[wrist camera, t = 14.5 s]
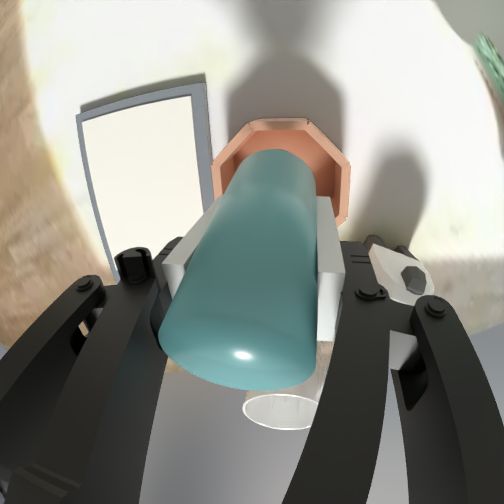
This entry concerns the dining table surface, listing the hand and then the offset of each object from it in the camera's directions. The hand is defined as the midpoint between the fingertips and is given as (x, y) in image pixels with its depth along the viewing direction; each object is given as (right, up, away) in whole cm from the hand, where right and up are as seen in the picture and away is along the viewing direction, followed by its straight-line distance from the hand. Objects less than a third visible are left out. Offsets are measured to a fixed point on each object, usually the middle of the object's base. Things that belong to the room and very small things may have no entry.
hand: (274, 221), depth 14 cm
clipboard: (-11, +4, +11) cm, 16 cm away
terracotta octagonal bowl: (+2, +5, +8) cm, 10 cm away
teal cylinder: (0, +3, +1) cm, 3 cm away
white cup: (+4, -12, +17) cm, 21 cm away
